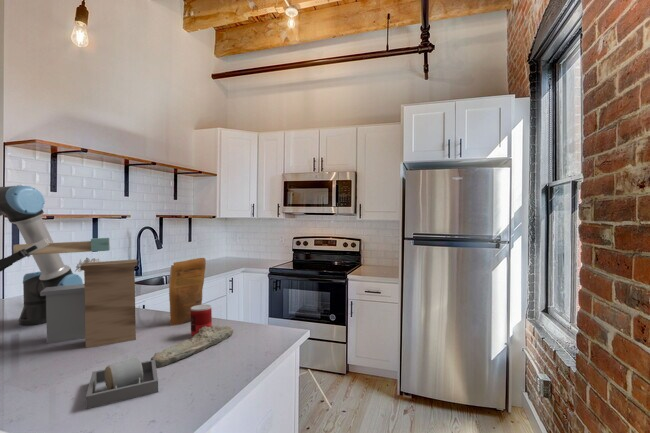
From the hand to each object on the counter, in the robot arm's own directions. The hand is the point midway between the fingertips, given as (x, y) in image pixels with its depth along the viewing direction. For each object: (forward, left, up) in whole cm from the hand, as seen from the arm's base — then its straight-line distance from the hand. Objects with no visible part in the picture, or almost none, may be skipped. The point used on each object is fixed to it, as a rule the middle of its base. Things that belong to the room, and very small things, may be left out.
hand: (47, 241), depth 134 cm
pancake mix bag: (+2, +50, -39) cm, 64 cm away
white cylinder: (+60, +27, -39) cm, 76 cm away
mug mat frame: (+58, +26, -39) cm, 75 cm away
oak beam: (0, +5, -5) cm, 7 cm away
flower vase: (-68, +7, -39) cm, 79 cm away
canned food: (+24, +52, -39) cm, 70 cm away
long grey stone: (+39, +48, -39) cm, 73 cm away
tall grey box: (-1, +8, -39) cm, 40 cm away
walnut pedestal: (+12, +21, -39) cm, 46 cm away
